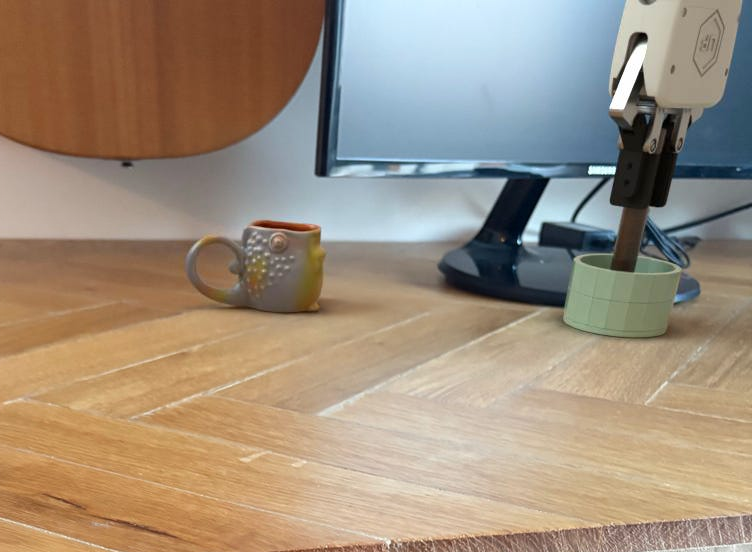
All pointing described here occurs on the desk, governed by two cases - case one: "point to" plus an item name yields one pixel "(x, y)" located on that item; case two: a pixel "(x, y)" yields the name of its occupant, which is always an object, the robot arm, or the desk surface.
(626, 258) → the stick
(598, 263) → the bowl
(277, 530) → the desk surface
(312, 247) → the mug
